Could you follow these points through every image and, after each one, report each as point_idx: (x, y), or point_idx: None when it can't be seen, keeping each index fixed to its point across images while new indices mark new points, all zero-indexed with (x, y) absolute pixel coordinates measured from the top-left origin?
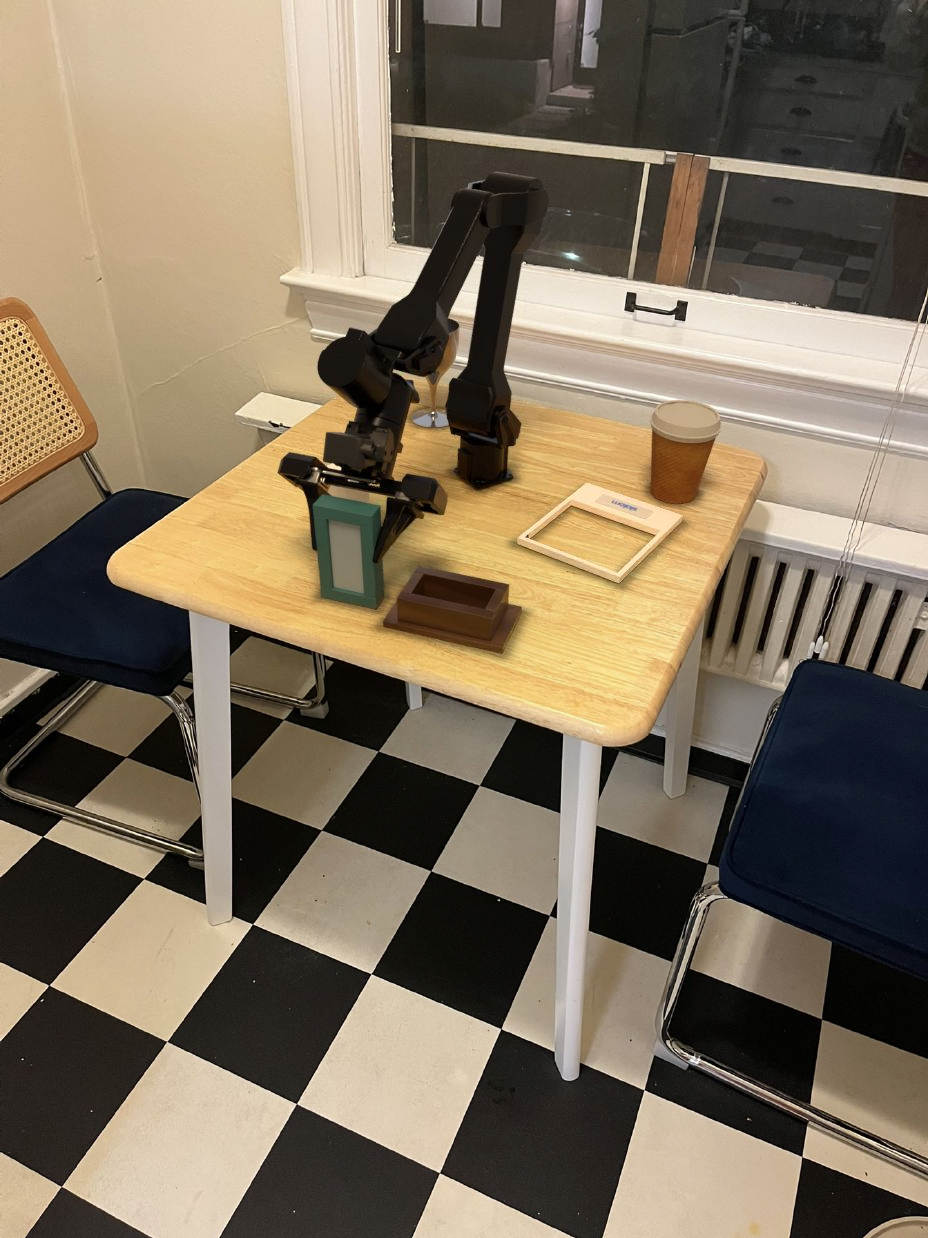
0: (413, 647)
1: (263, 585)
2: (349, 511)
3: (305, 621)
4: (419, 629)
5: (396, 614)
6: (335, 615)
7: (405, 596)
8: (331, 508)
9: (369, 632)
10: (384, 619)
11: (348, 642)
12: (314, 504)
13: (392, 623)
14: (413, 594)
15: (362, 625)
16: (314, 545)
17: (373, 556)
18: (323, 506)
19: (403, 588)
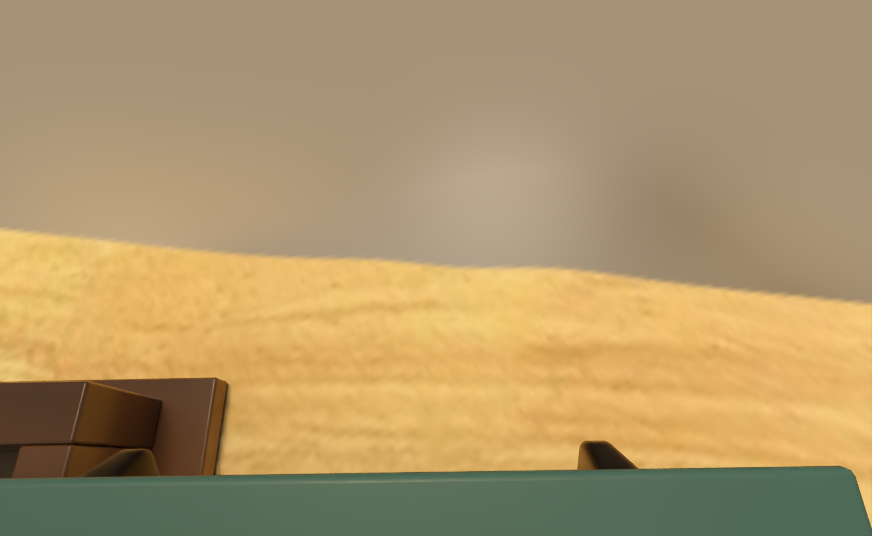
0: (103, 316)
1: (787, 462)
2: (29, 497)
3: (502, 312)
4: (71, 380)
5: (174, 438)
6: (418, 382)
7: (45, 405)
8: (426, 482)
9: (267, 336)
10: (213, 389)
11: (318, 266)
12: (825, 487)
13: (179, 378)
14: (6, 435)
15: (303, 363)
16: (595, 449)
17: (121, 463)
18: (608, 481)
19: (63, 468)
